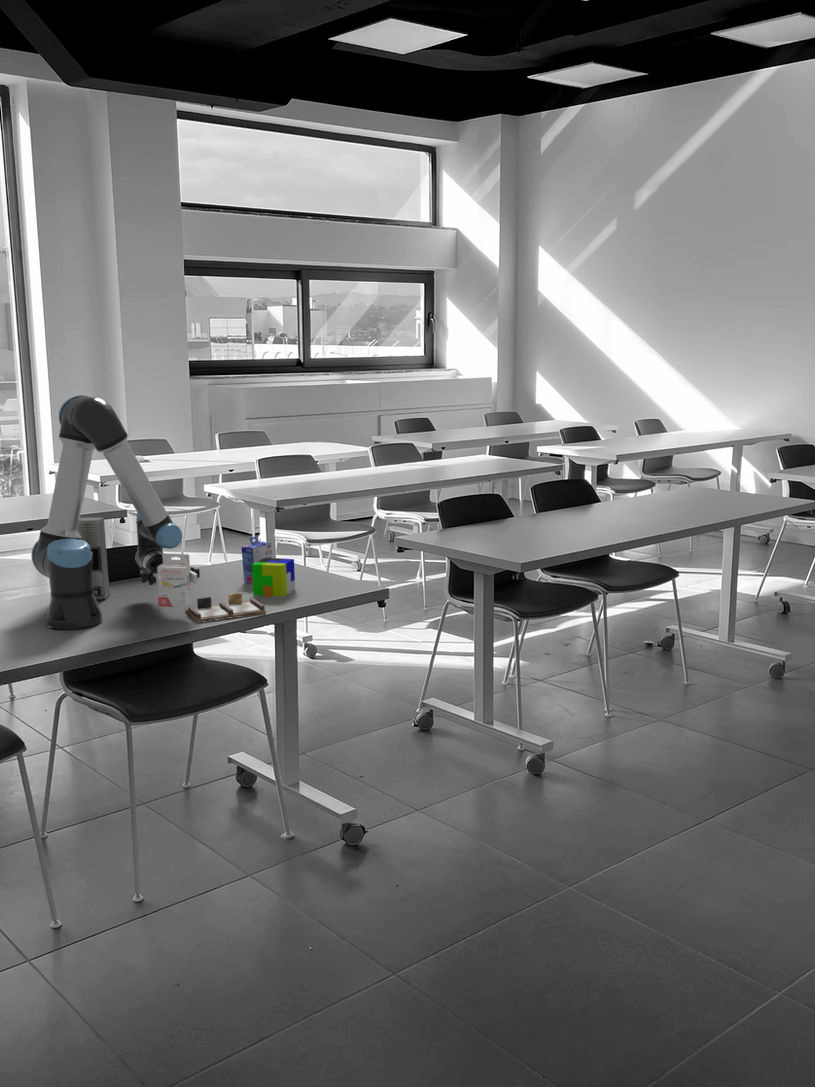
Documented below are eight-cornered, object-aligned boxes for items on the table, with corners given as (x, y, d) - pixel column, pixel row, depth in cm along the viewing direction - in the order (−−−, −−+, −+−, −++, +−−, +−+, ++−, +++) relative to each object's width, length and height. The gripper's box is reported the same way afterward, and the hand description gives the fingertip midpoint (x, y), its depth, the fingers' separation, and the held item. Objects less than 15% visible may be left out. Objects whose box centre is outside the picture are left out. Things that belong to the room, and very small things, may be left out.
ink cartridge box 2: (261, 576, 355) (259, 534, 352) (274, 578, 352) (272, 535, 350) (242, 582, 347) (240, 539, 344) (255, 584, 344) (253, 541, 341)
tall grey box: (60, 601, 327) (53, 521, 322) (66, 596, 333) (59, 518, 328) (104, 600, 327) (99, 520, 322) (110, 595, 333) (104, 517, 328)
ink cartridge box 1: (157, 606, 301) (155, 556, 298) (163, 602, 306) (161, 552, 303) (186, 607, 300) (185, 557, 297) (192, 603, 305) (190, 553, 302)
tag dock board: (198, 623, 300) (198, 609, 299) (185, 611, 312) (184, 598, 311) (265, 613, 309) (265, 600, 308) (250, 603, 321) (249, 590, 320)
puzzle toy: (295, 589, 337) (294, 559, 335) (283, 597, 328) (282, 565, 326) (266, 588, 340) (264, 557, 338) (253, 595, 330) (252, 564, 328)
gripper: (194, 574, 323) (216, 590, 303) (121, 581, 313) (139, 597, 293) (194, 550, 322) (215, 564, 302) (120, 556, 312) (138, 571, 292)
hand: (178, 580), depth 298 cm, fingers closed on ink cartridge box 1, 9 cm apart
